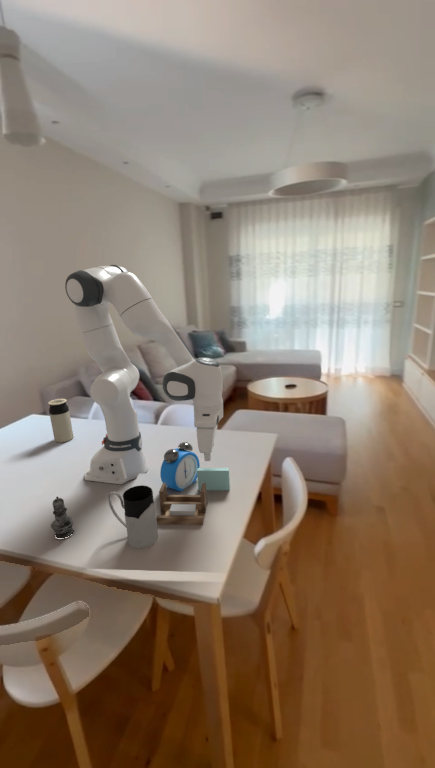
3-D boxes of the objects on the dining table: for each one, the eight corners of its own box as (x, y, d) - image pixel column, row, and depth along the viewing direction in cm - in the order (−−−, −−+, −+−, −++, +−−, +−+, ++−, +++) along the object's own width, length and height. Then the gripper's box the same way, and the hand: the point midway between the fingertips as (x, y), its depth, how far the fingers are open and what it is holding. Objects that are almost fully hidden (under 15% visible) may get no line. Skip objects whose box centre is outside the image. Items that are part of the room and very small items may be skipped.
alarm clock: (175, 500, 119) (171, 457, 115) (161, 494, 123) (156, 452, 118) (201, 481, 129) (198, 441, 125) (187, 476, 133) (184, 437, 128)
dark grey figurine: (57, 528, 109) (49, 491, 105) (77, 526, 109) (71, 489, 106) (50, 541, 103) (42, 503, 100) (72, 539, 104) (64, 501, 100)
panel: (198, 494, 122) (196, 470, 119) (199, 491, 123) (197, 467, 121) (229, 494, 121) (228, 470, 118) (230, 491, 122) (228, 467, 120)
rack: (157, 528, 106) (154, 501, 104) (165, 507, 116) (163, 482, 113) (203, 529, 105) (201, 502, 102) (207, 507, 114) (205, 482, 112)
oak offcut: (165, 520, 107) (164, 515, 106) (167, 513, 110) (167, 508, 109) (196, 521, 106) (196, 516, 105) (198, 514, 109) (197, 509, 109)
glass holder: (148, 557, 95) (142, 506, 91) (103, 544, 101) (95, 495, 97) (166, 535, 103) (161, 487, 99) (124, 524, 109) (117, 478, 104)
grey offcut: (169, 515, 106) (169, 510, 106) (172, 509, 109) (171, 504, 109) (194, 516, 106) (194, 511, 105) (196, 509, 109) (195, 504, 108)
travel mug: (69, 442, 166) (62, 403, 161) (51, 443, 166) (44, 404, 161) (76, 435, 173) (69, 397, 168) (59, 435, 174) (52, 398, 168)
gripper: (202, 399, 124) (203, 438, 128) (193, 424, 105) (194, 468, 109) (221, 400, 124) (222, 438, 128) (215, 424, 104) (216, 469, 108)
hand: (209, 452), depth 118 cm, fingers open, 8 cm apart
